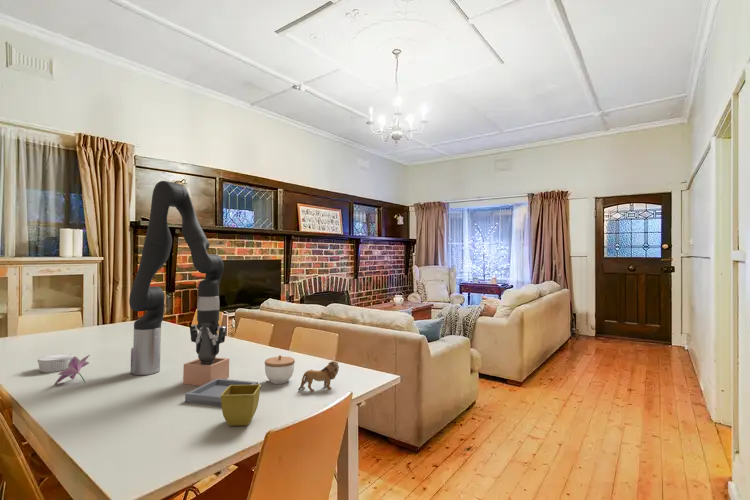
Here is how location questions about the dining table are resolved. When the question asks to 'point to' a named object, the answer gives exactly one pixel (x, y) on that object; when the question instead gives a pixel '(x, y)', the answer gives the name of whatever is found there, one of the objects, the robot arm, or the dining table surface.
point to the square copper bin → (205, 371)
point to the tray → (213, 391)
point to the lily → (73, 368)
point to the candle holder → (206, 346)
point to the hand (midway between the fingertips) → (207, 354)
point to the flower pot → (240, 403)
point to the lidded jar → (279, 369)
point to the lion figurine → (320, 375)
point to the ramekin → (54, 362)
